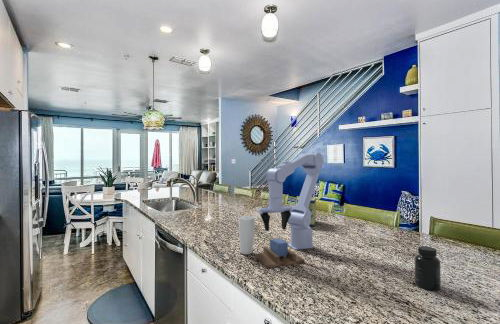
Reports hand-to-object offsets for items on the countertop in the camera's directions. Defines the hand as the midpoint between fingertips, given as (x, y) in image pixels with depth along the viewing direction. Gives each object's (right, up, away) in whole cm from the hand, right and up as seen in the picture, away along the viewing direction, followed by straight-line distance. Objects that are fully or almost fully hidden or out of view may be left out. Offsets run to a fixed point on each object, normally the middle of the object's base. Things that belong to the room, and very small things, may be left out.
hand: (275, 229), depth 111 cm
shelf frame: (+1, -10, -5) cm, 12 cm away
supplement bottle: (+46, -11, -26) cm, 54 cm away
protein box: (+24, -10, +53) cm, 59 cm away
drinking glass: (-12, -10, +2) cm, 16 cm away
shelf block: (+1, -8, -5) cm, 10 cm away
